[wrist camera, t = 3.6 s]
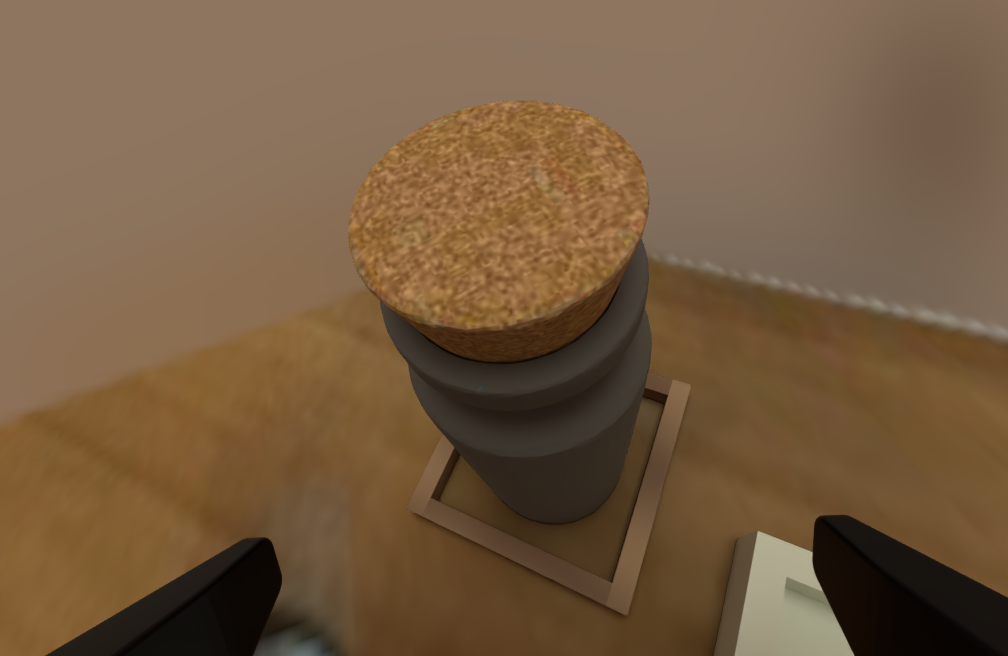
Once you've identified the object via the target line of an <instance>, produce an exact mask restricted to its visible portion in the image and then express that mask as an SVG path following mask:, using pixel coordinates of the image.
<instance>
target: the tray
mask: <svg viewBox="0 0 1008 656" xmlns="http://www.w3.org/2000/svg"><path fill="white" fill-rule="evenodd" d="M812 554H813V552H810V551H808V550H805V549H803V548H800V547H797V546H795V545H792V544H790V543H787V542H785V541H782V540H780V539H777V538H775V537H772V536H769V535H767V534H764V533H762V532H759V531H757V532H754V533H751V534H749V535H746V536H744V537H741V538H738V539H737V541H736V546H735V551H734V556H733V561H732V566H731V571H730V576H729V581H728V586H727V591H726V596H725V601H724V605H723V610H722V615H721V620H720V625H719V630H718V635H717V640H716V645H715V650H714V655H713V656H854V654H853V652H852V650H851V648H850V646H849V644H848V642H847V640H846V638H845V636H844V634H843V632H842V629H841V627H840V625H839V623H838V621H837V619H836V617H835V615H834V613H833V611H832V609H831V607H830V605H829V603H828V601H827V599H826V596H825V594H824V592H823V590H822V588H821V586H820V584H819V582H818V580H817V578H816V575H815V572H814V569H813V563H812Z"/></svg>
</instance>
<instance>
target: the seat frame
mask: <svg viewBox="0 0 1008 656" xmlns="http://www.w3.org/2000/svg"><path fill="white" fill-rule="evenodd" d="M690 388H691V385H689V384H686V383H683V382H680V381H677V380H673V379H670V378H667V377H664V376H661V375H657V374H654V373H651V372H648V376H647V381H646V385H645V389H644V393H643V396H644V397H647V398H650V399H653V400H656V401H659V402H662V403H665V405H664V408H663V412H662V415H661V418H660V422H659V425H658V429H657V432H656V435H655V439H654V442H653V445H652V449H651V452H650V455H649V459H648V462H647V465H646V469H645V472H644V475H643V479H642V482H641V486H640V489H639V492H638V496H637V499H636V502H635V506H634V509H633V512H632V516H631V519H630V522H629V526H628V529H627V533H626V536H625V539H624V543H623V546H622V549H621V553H620V556H619V559H618V563H617V566H616V569H615V573H614V576H613V579H612V583H611V582H609V581H607V580H605V579H602V578H600V577H598V576H596V575H594V574H592V573H590V572H588V571H585V570H583V569H581V568H579V567H577V566H575V565H573V564H571V563H568V562H566V561H564V560H562V559H560V558H558V557H556V556H553V555H551V554H549V553H547V552H545V551H543V550H541V549H539V548H536V547H534V546H532V545H530V544H528V543H526V542H524V541H521V540H519V539H517V538H515V537H513V536H511V535H509V534H507V533H504V532H502V531H500V530H498V529H496V528H494V527H492V526H490V525H487V524H485V523H483V522H481V521H479V520H477V519H475V518H472V517H470V516H468V515H466V514H464V513H462V512H460V511H458V510H455V509H453V508H451V507H449V506H447V505H445V504H443V503H440V502H438V499H439V497H440V495H441V493H442V491H443V489H444V486H445V484H446V482H447V480H448V478H449V476H450V474H451V472H452V470H453V467H454V465H455V463H456V461H457V459H458V457H459V455H460V453H459V452H458V451H457V450H456V449H455V448H454V446H453V445H452V444H451V443H450V442H449V440H448V439H447V438H446V437H445V436H444V435H443V434H442V436H441V438H440V440H439V442H438V444H437V446H436V448H435V450H434V452H433V454H432V456H431V458H430V461H429V463H428V465H427V467H426V469H425V471H424V473H423V475H422V477H421V479H420V481H419V483H418V485H417V487H416V489H415V491H414V493H413V495H412V497H411V499H410V501H409V503H408V505H407V507H406V509H408V510H410V511H412V512H414V513H416V514H418V515H420V516H422V517H424V518H427V519H429V520H431V521H433V522H435V523H437V524H439V525H441V526H443V527H445V528H447V529H449V530H451V531H453V532H455V533H457V534H459V535H461V536H463V537H466V538H468V539H470V540H472V541H474V542H476V543H478V544H480V545H482V546H484V547H486V548H488V549H490V550H492V551H494V552H496V553H498V554H500V555H502V556H504V557H507V558H509V559H511V560H513V561H515V562H517V563H519V564H521V565H523V566H525V567H527V568H529V569H531V570H533V571H535V572H537V573H539V574H541V575H543V576H546V577H548V578H550V579H552V580H554V581H556V582H558V583H560V584H562V585H564V586H566V587H568V588H570V589H572V590H574V591H576V592H578V593H580V594H582V595H585V596H587V597H589V598H591V599H593V600H595V601H597V602H599V603H601V604H603V605H605V606H607V607H609V608H611V609H613V610H615V611H617V612H619V613H621V614H624V615H626V616H627V615H628V612H629V608H630V604H631V601H632V597H633V594H634V590H635V586H636V583H637V579H638V576H639V572H640V568H641V565H642V561H643V558H644V554H645V550H646V547H647V543H648V540H649V536H650V532H651V529H652V525H653V522H654V518H655V514H656V511H657V507H658V504H659V500H660V496H661V493H662V489H663V486H664V482H665V478H666V475H667V471H668V468H669V464H670V460H671V457H672V453H673V449H674V446H675V442H676V439H677V435H678V431H679V428H680V424H681V421H682V417H683V413H684V410H685V406H686V403H687V399H688V395H689V392H690Z"/></svg>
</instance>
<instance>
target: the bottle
mask: <svg viewBox="0 0 1008 656" xmlns="http://www.w3.org/2000/svg"><path fill="white" fill-rule="evenodd" d="M648 209H649V190H648V183H647V180H646V176H645V172H644V169H643V166H642V164H641V161H640V159H639V158H638V157H637V155H636V154H635V152H634V151H633V149H632V148H631V146H630V145H629V144H628V142H627V141H626V140H625V139H624V138H623V137H622V136H621V135H619V134H618V133H617V132H616V131H615V130H614V129H612V128H611V127H610V126H608V125H607V124H605V123H604V122H603V121H601V120H599V119H597V118H595V117H593V116H591V115H589V114H587V113H585V112H582V111H579V110H576V109H573V108H569V107H566V106H563V105H560V104H553V103H552V104H551V103H545V102H537V101H503V102H497V103H491V104H485V105H478V106H474V107H470V108H466V109H462V110H459V111H456V112H454V113H451V114H448V115H446V116H443V117H441V118H439V119H436V120H434V121H432V122H430V123H428V124H426V125H425V126H423V127H421V128H419V129H418V130H416V131H415V132H413V133H411V134H409V135H408V136H407V137H405V138H404V139H402V140H401V141H400V142H398V143H397V144H396V145H395V146H394V147H392V148H391V149H390V150H389V151H388V152H387V153H386V154H385V155H384V156H383V157H382V158H381V159H380V160H379V161H378V162H377V163H376V164H375V166H374V167H373V168H372V170H371V171H370V172H369V174H368V176H367V177H366V179H365V180H364V182H363V184H362V185H361V187H360V189H359V190H358V192H357V195H356V198H355V200H354V203H353V206H352V209H351V214H350V220H349V232H348V235H349V248H350V252H351V256H352V259H353V262H354V265H355V267H356V270H357V273H358V274H359V276H360V277H361V279H362V280H363V282H364V284H365V285H366V287H367V288H368V289H369V290H370V291H371V292H372V293H373V294H374V295H375V296H376V297H377V298H378V299H379V300H380V303H381V310H382V314H383V318H384V322H385V325H386V328H387V332H388V333H389V335H390V337H391V339H392V341H393V342H394V344H395V346H396V348H397V350H398V351H399V352H400V354H401V355H402V356H403V358H404V359H405V360H406V362H407V363H408V366H409V373H410V378H411V382H412V385H413V388H414V391H415V393H416V395H417V397H418V399H419V401H420V403H421V405H422V407H423V408H424V410H425V412H426V413H427V415H428V416H429V417H430V418H431V420H432V421H433V422H434V424H435V425H436V426H437V427H438V429H439V430H440V431H441V432H442V433H443V435H444V436H445V437H446V438H447V439H448V440H449V442H450V443H451V444H452V445H453V446H454V448H455V449H456V450H457V451H458V452H459V453H460V454H461V456H462V457H463V458H464V459H465V460H466V461H467V462H468V463H469V464H470V466H471V467H472V468H473V469H474V470H475V471H476V472H477V473H478V474H479V476H480V477H481V478H482V479H483V480H484V481H485V482H486V483H487V485H488V486H489V487H490V488H491V489H492V490H493V491H494V492H495V493H496V495H497V496H498V497H499V498H500V499H501V500H502V501H503V502H504V503H505V504H506V505H508V506H509V507H510V508H511V509H512V510H514V511H515V512H517V513H518V514H520V515H521V516H524V517H526V518H528V519H530V520H534V521H537V522H540V523H547V524H562V523H569V522H573V521H576V520H579V519H581V518H583V517H585V516H587V515H589V514H591V513H593V512H594V511H595V510H597V509H598V508H599V507H600V506H601V505H602V504H603V503H604V502H605V501H606V500H607V499H608V498H609V496H610V495H611V493H612V492H613V490H614V489H615V487H616V485H617V482H618V480H619V478H620V475H621V472H622V469H623V465H624V462H625V458H626V455H627V451H628V448H629V444H630V440H631V437H632V433H633V429H634V426H635V422H636V418H637V415H638V411H639V407H640V404H641V400H642V396H643V393H644V389H645V385H646V381H647V376H648V371H649V366H650V358H651V347H652V343H651V331H650V326H649V321H648V316H647V313H646V311H645V303H646V297H647V291H648V281H649V272H648V258H647V255H646V251H645V247H644V244H643V241H642V239H641V238H642V235H643V231H644V228H645V224H646V221H647V217H648Z"/></svg>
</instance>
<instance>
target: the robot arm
mask: <svg viewBox="0 0 1008 656" xmlns="http://www.w3.org/2000/svg"><path fill="white" fill-rule="evenodd" d="M812 563H813V569H814V572H815V575H816V578H817V580H818V582H819V584H820V586H821V588H822V590H823V592H824V594H825V596H826V599H827V601H828V603H829V605H830V607H831V609H832V611H833V613H834V615H835V617H836V619H837V621H838V623H839V625H840V627H841V629H842V632H843V634H844V636H845V638H846V640H847V642H848V644H849V646H850V648H851V650H852V652H853V654H854V656H1008V597H1006V596H1004V595H1002V594H1000V593H998V592H996V591H994V590H992V589H990V588H988V587H986V586H984V585H983V584H981V583H979V582H977V581H975V580H973V579H971V578H969V577H967V576H965V575H963V574H961V573H959V572H957V571H955V570H953V569H951V568H949V567H948V566H946V565H944V564H942V563H940V562H938V561H936V560H934V559H932V558H930V557H928V556H926V555H924V554H922V553H920V552H918V551H916V550H915V549H913V548H911V547H909V546H907V545H905V544H903V543H901V542H899V541H897V540H895V539H893V538H891V537H889V536H887V535H885V534H883V533H882V532H880V531H878V530H876V529H874V528H872V527H870V526H868V525H866V524H864V523H862V522H860V521H858V520H856V519H854V518H852V517H850V516H847V515H825V516H819V517H818V518H817V519H816V521H815V524H814V538H813V554H812ZM281 585H282V574H281V570H280V567H279V564H278V560H277V557H276V554H275V550H274V547H273V544H272V542H271V541H270V540H269V539H268V538H265V537H260V538H246V539H243V540H241V541H239V542H238V543H236V544H234V545H232V546H231V547H229V548H227V549H226V550H224V551H222V552H221V553H219V554H217V555H215V556H214V557H212V558H210V559H209V560H207V561H205V562H204V563H202V564H200V565H198V566H197V567H195V568H193V569H192V570H190V571H188V572H187V573H185V574H183V575H181V576H180V577H178V578H176V579H175V580H173V581H171V582H170V583H168V584H166V585H165V586H163V587H161V588H159V589H158V590H156V591H154V592H153V593H151V594H149V595H148V596H146V597H144V598H142V599H141V600H139V601H137V602H136V603H134V604H132V605H131V606H129V607H127V608H125V609H124V610H122V611H120V612H119V613H117V614H115V615H114V616H112V617H110V618H108V619H107V620H105V621H103V622H102V623H100V624H98V625H97V626H95V627H93V628H92V629H90V630H88V631H86V632H85V633H83V634H81V635H80V636H78V637H76V638H75V639H73V640H71V641H69V642H68V643H66V644H64V645H63V646H61V647H59V648H58V649H56V650H54V651H52V652H51V653H49V654H47V655H46V656H253V654H254V652H255V650H256V647H257V645H258V642H259V640H260V638H261V635H262V633H263V630H264V628H265V626H266V623H267V621H268V618H269V616H270V614H271V611H272V609H273V606H274V604H275V602H276V599H277V597H278V595H279V592H280V589H281Z"/></svg>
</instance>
